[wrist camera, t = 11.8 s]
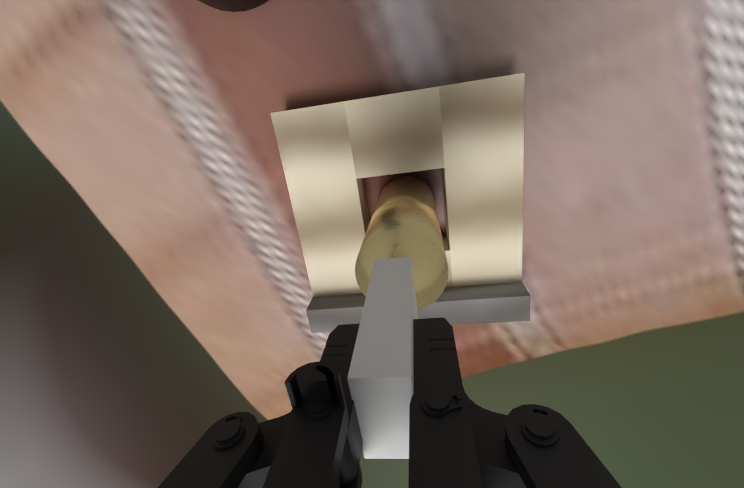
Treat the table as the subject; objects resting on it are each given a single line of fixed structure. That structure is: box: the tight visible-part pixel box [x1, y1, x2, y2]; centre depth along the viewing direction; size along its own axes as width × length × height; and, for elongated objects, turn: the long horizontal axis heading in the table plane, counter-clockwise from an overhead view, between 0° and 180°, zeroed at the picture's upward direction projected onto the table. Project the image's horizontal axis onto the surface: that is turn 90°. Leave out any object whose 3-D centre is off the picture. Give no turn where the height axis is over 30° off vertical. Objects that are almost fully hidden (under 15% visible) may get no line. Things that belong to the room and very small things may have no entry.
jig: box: [271, 73, 530, 333], centre depth 25 cm, size 16×16×5 cm
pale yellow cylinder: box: [355, 177, 448, 311], centre depth 22 cm, size 4×4×12 cm
